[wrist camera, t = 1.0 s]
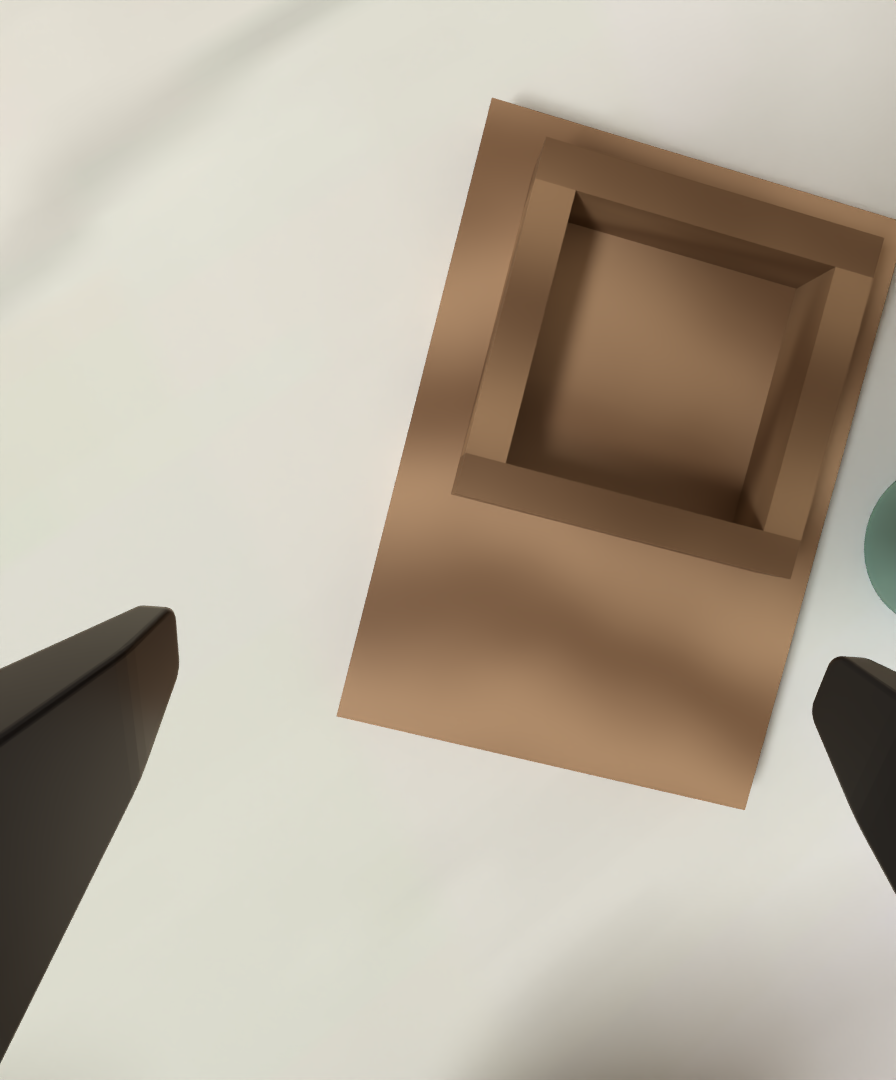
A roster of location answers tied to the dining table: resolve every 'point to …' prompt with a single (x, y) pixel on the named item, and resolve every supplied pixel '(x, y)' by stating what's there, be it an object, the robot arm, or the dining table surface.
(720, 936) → the dining table surface
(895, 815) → the robot arm
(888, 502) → the teal post
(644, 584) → the walnut base
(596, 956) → the dining table surface
